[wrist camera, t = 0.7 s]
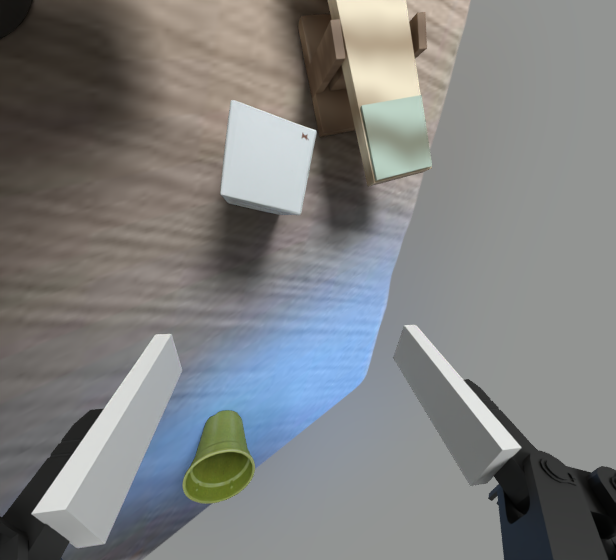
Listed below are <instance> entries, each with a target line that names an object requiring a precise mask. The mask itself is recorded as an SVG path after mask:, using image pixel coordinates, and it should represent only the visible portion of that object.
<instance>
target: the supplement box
mask: <svg viewBox="0 0 616 560" xmlns="http://www.w3.org/2000/svg"><path fill="white" fill-rule="evenodd" d="M316 133H317V131H316V130H314V129H311V128H308V127H305V126H302V125H299V124H297V123H294V122H291V121H288V120H286V119H283V118H280V117H278V116H275V115H272V114H270V113H267V112H264V111H262V110H259V109H256V108H254V107H251V106H248V105H246V104H243V103H241V102H238V101H235V100H231V103H230V110H229V117H228V125H227V133H226V142H225V150H224V159H223V169H222V179H221V191H220V194H221V195H222V197H223V198H224V199H225V200H226V201H227V202H228V203H229V204H234V205H238V206H242V207H247V208H251V209H255V210H260V211H264V212H269V213H274V214H278V215H300V214H301V211H302V206H303V200H304V195H305V190H306V185H307V179H308V175H309V171H310V164H311V158H312V153H313V148H314V143H315V138H316Z"/></svg>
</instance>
